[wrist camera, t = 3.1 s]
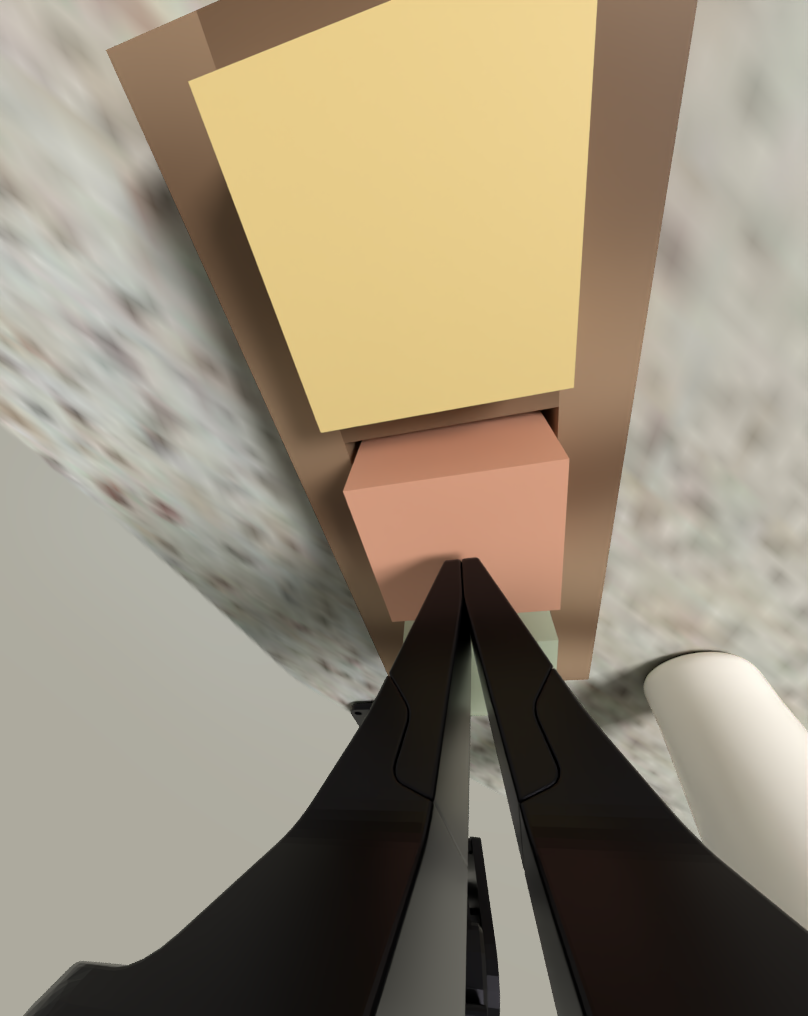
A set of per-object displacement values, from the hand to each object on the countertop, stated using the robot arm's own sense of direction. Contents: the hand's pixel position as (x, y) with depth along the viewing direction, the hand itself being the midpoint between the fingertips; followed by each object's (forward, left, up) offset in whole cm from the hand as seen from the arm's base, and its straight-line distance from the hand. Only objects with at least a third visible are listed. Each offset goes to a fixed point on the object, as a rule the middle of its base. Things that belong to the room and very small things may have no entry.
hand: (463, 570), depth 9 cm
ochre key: (+6, 0, -3) cm, 7 cm away
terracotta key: (0, 0, -3) cm, 3 cm away
